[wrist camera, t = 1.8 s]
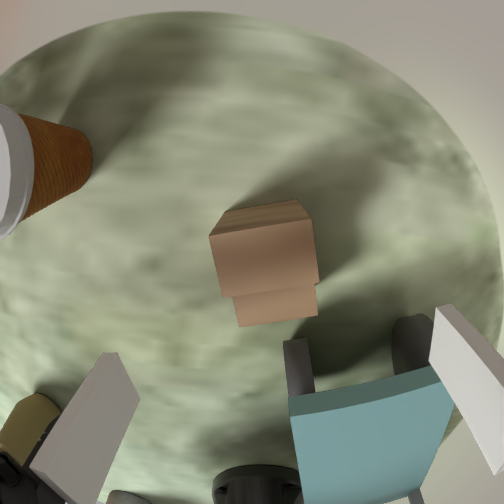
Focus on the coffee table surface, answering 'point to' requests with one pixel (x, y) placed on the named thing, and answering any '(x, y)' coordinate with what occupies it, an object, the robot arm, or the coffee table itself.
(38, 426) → the squeeze bottle
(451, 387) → the robot arm
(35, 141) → the disposable coffee cup
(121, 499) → the pillar candle
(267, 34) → the coffee table surface
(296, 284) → the block
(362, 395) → the trolley
